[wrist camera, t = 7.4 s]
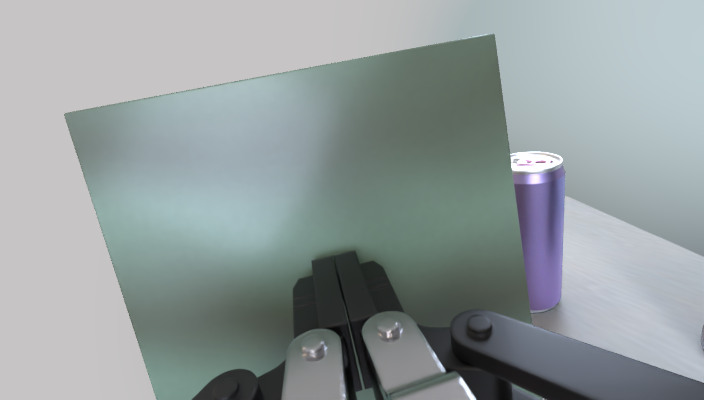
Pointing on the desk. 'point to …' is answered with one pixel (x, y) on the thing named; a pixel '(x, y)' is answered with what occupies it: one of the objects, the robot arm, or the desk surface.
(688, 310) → the desk surface
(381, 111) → the lid
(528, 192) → the beverage can
